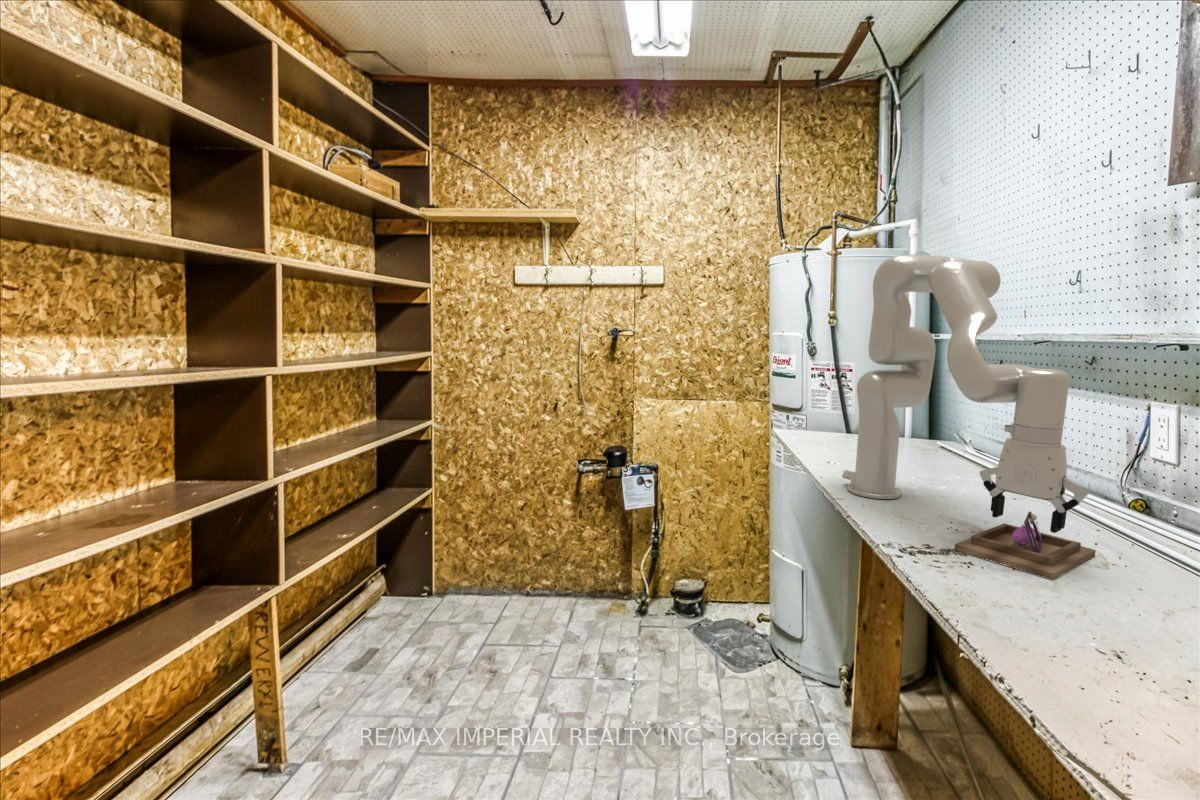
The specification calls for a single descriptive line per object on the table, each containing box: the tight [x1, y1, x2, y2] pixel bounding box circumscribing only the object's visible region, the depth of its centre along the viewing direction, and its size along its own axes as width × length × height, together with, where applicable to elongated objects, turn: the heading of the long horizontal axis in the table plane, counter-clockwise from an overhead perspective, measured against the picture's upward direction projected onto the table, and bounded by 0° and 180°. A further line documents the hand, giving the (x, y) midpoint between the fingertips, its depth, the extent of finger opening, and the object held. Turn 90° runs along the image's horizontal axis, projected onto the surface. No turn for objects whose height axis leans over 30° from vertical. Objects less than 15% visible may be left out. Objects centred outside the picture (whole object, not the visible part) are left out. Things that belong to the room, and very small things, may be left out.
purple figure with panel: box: [1010, 511, 1042, 553], centre depth 113 cm, size 7×5×9 cm
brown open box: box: [954, 523, 1096, 580], centre depth 114 cm, size 16×20×3 cm
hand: (1025, 523), depth 114 cm, fingers open, 9 cm apart
